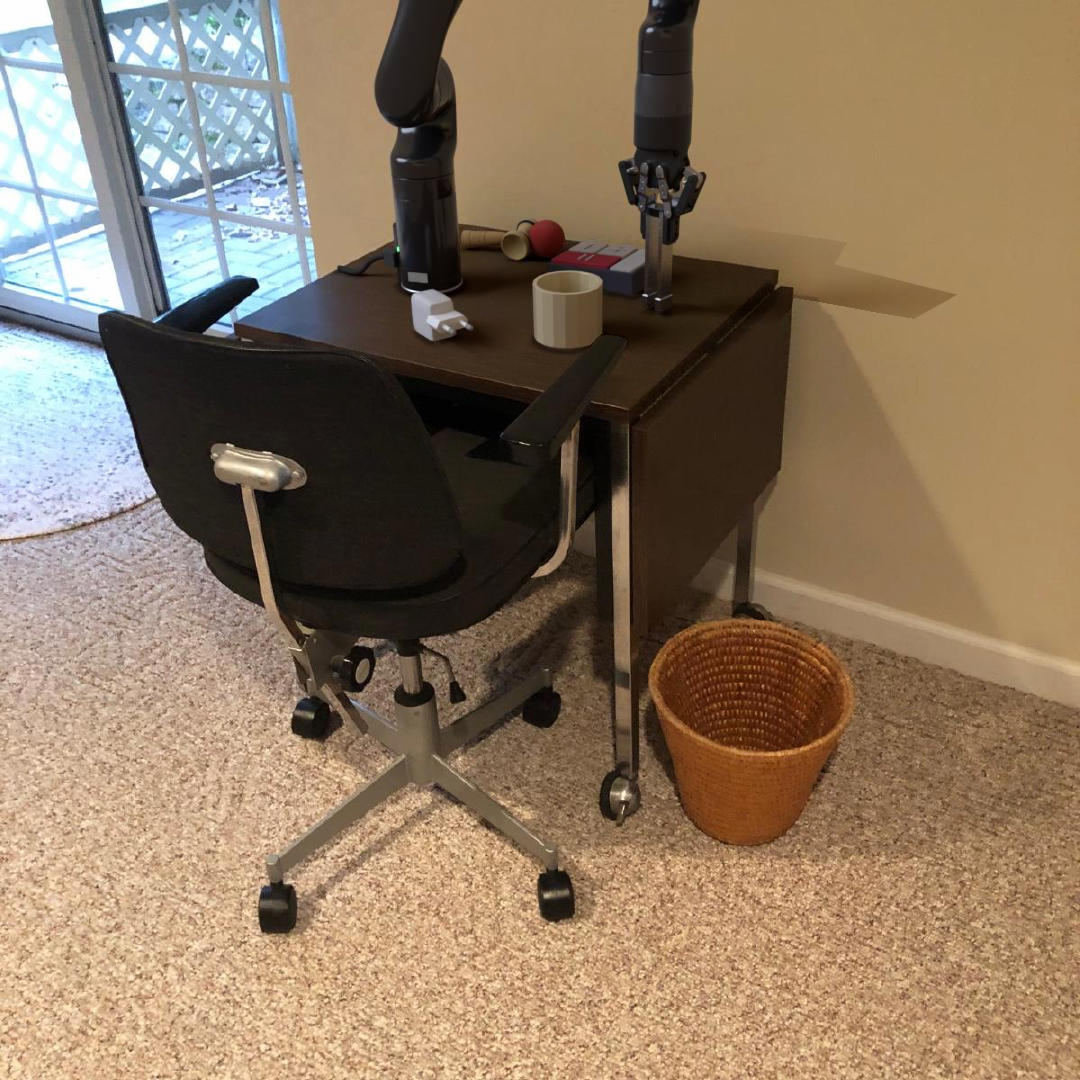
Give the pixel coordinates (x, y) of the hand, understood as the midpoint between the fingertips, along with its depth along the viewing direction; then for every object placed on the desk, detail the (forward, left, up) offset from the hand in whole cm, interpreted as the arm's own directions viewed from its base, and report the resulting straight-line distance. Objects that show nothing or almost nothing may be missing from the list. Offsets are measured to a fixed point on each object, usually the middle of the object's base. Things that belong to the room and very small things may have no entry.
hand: (659, 240), depth 147 cm
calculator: (-15, +6, -11) cm, 19 cm away
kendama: (-35, +5, -11) cm, 37 cm away
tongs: (0, 0, -10) cm, 10 cm away
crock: (-3, -15, -11) cm, 19 cm away
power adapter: (-15, -27, -11) cm, 33 cm away
